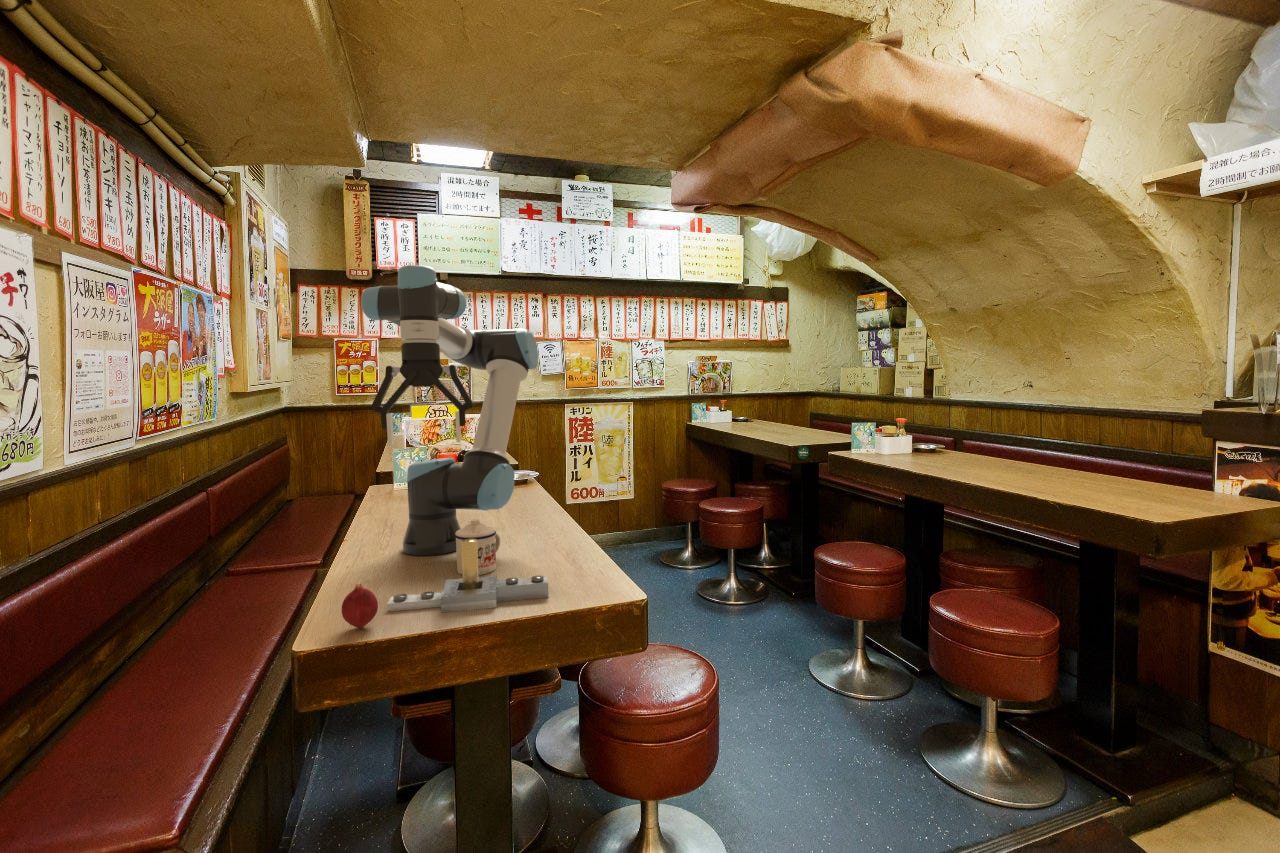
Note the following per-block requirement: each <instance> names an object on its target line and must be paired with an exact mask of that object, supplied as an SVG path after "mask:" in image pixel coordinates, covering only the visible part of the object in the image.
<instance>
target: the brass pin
mask: <svg viewBox="0 0 1280 853" xmlns="http://www.w3.org/2000/svg"><path fill="white" fill-rule="evenodd" d="M461 547H462V574H461V575H462V578H463V590H472V589H479V579H478V577H479V575H478V547H477V539H465V540H462V541H461Z"/></svg>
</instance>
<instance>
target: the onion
mask: <svg viewBox="0 0 1280 853" xmlns="http://www.w3.org/2000/svg"><path fill="white" fill-rule="evenodd" d="M377 599H378V598H377V596H376V595H375V594H374V593H373V592H372V591H371V590H369V589H368V588H365V587H364V586H363V584H362V583H361V582H357V583H356V584H355V587H354V589H353V590H351V591H350V592H349V593H348V594H347V595H346V596H345V598H344V599H343V601H342V604H341V615H342V618H343V619H344V621H345V622H346V623H347V624H348V625H350V626H352V627H355V628H357V629H363V628H365V627H366V626H367V625H368V624H369V623H370V622H371V621H372V620H373V619H374V618H375V617H376V615H377V613H378V610H379V602H378V600H377Z"/></svg>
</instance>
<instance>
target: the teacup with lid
mask: <svg viewBox="0 0 1280 853" xmlns="http://www.w3.org/2000/svg"><path fill="white" fill-rule="evenodd" d="M480 522H481V521H480V519H479V518H478V519H476V518H474V519H471V521H470V524H467V525H466V526H464V527H461V529H459V530H458V531H456V533H455V537H456V568H457V569H456V571H457V573H458V574H460V575H462V547H461V541H462V540H465V539H477V547H478V576H481V575H482V576H483V575H486V574H490V573H491V572H493V571H495V570H496V569H497V555H496V553H497V552H498V551H499V549H500V546H501V536H500V535H499V534H498V533H497V531H496V529H495V528H494V527H493V526H487V525H486V524H484V523H480Z"/></svg>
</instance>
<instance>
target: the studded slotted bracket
mask: <svg viewBox="0 0 1280 853" xmlns="http://www.w3.org/2000/svg"><path fill="white" fill-rule="evenodd" d="M478 579H479V589H472V590H463V577H462V578H455V579H454V578H451V579H449V578H448V579H446V580H445V583H444V586H443V589H442V591H440V592H434V591H424V592H422V593H418V594H417V593H416V594H407V593H399V594H395V595H394V596H390V598H389V600H388V602H387V603H386V606H387V607H386V609H387V610H386V611H387V612H396V611H397V612H398V611H409V610H421V609H433V607H434V608H440V610H441V611H440V613H441V612H442V613H450V612H451V613H452V612H462V611H474V610H486V609H495V608H497V604H498V603H500V602H512V601H522V600H523V601H524V600H533V599H534V600H535V599H544V598H545V599H546V598H547V599H548V598H549V581H548V576H546V575H545V576H543V575H533V576H531V577H524V578H518V577H515V576H513V577H508V578H506V579H500V580H498V575H491V576H489V575H488V576H478Z"/></svg>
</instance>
